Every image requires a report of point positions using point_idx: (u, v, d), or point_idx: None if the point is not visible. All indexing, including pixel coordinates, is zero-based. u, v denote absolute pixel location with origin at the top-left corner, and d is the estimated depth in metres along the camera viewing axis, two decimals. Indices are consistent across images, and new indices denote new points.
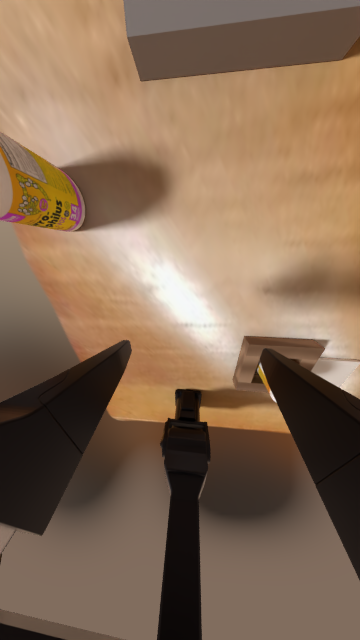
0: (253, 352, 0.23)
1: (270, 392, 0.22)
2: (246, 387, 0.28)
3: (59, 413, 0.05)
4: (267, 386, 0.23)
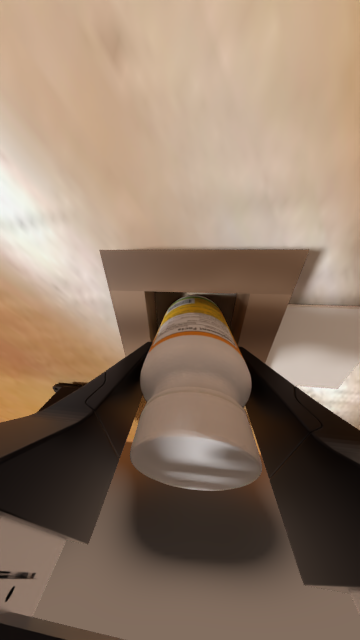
0: (122, 278, 0.09)
1: None
2: None
3: (104, 418, 0.05)
4: None
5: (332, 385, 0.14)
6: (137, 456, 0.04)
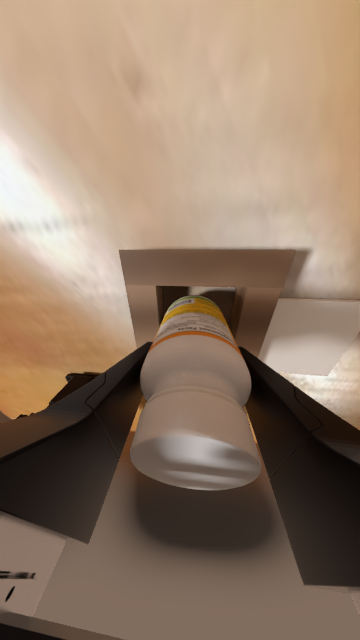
0: (137, 274, 0.10)
1: None
2: None
3: (104, 418, 0.05)
4: None
5: (322, 372, 0.15)
6: (137, 455, 0.04)
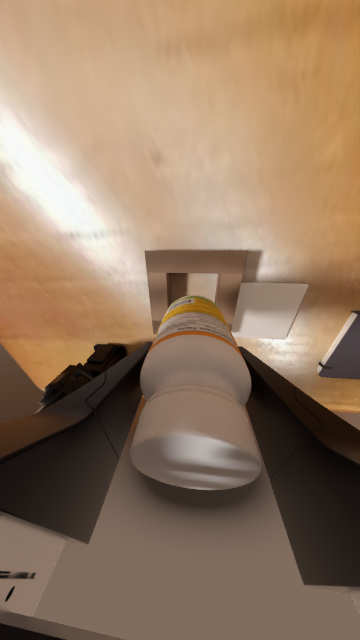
0: (154, 265, 0.17)
1: None
2: None
3: (104, 418, 0.05)
4: None
5: (280, 336, 0.22)
6: (137, 455, 0.04)
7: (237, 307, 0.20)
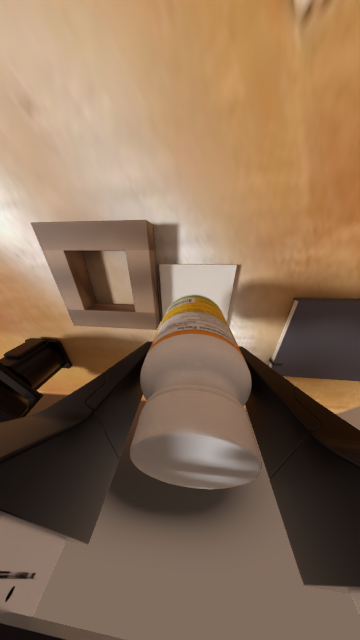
0: (48, 241, 0.14)
1: None
2: (84, 320, 0.18)
3: (104, 418, 0.05)
4: None
5: None
6: (137, 454, 0.04)
7: (163, 294, 0.18)
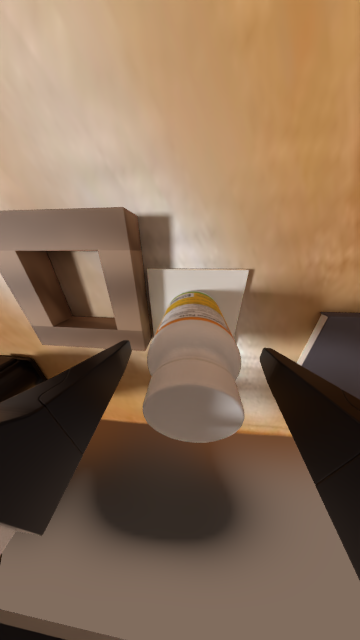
0: None
1: None
2: (54, 338, 0.15)
3: (59, 413, 0.05)
4: None
5: None
6: (148, 407, 0.05)
7: (154, 306, 0.14)
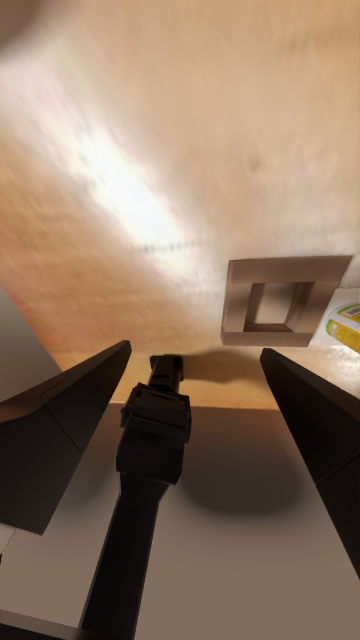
0: (241, 276, 0.16)
1: None
2: (237, 340, 0.20)
3: (59, 413, 0.05)
4: None
5: None
6: None
7: None
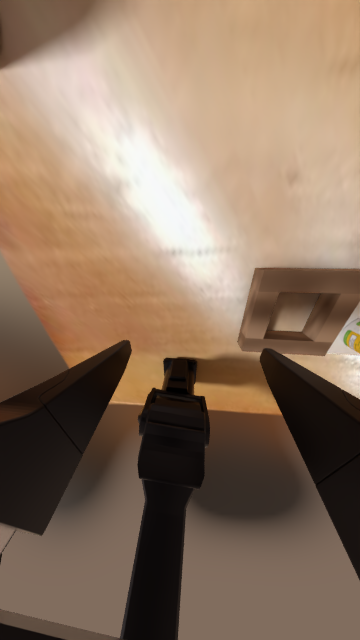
0: (269, 285, 0.16)
1: None
2: (256, 346, 0.20)
3: (59, 413, 0.05)
4: None
5: None
6: None
7: None
